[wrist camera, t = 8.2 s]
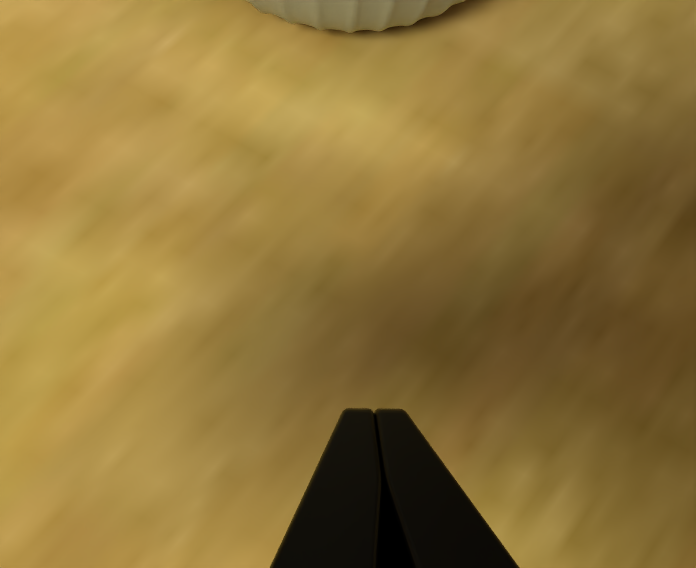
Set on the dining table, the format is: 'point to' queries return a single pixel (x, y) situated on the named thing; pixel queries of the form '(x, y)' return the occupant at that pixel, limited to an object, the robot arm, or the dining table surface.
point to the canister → (353, 12)
